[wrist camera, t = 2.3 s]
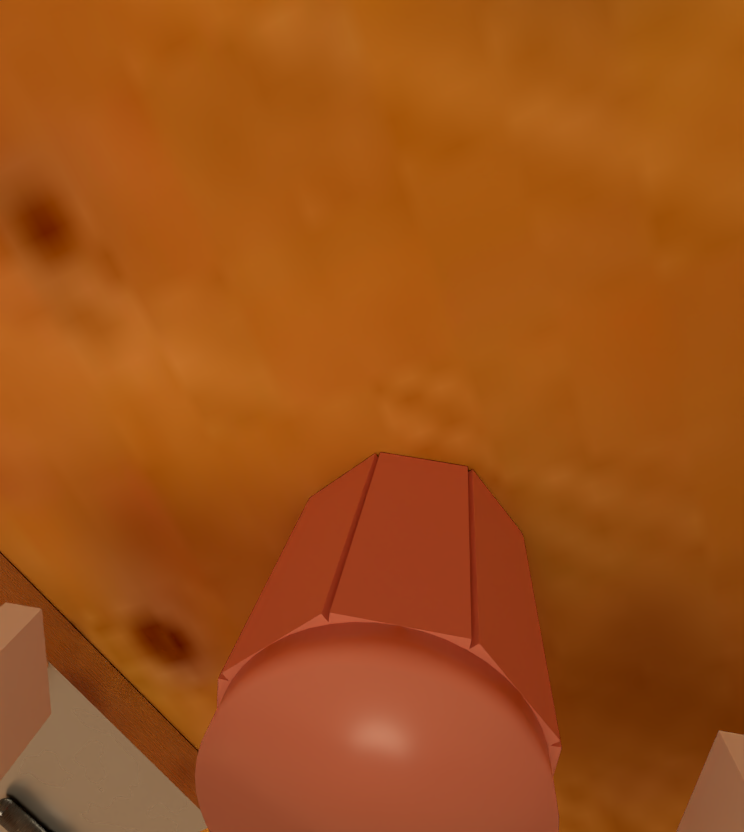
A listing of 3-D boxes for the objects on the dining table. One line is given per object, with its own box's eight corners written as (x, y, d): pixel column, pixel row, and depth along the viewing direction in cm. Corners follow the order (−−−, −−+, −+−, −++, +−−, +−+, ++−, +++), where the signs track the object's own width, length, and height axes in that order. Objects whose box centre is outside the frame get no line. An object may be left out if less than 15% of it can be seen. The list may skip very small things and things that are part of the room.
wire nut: (560, 582, 18) (634, 868, 10) (389, 674, 19) (343, 972, 12) (431, 415, 16) (405, 598, 9) (262, 529, 18) (124, 759, 11)
